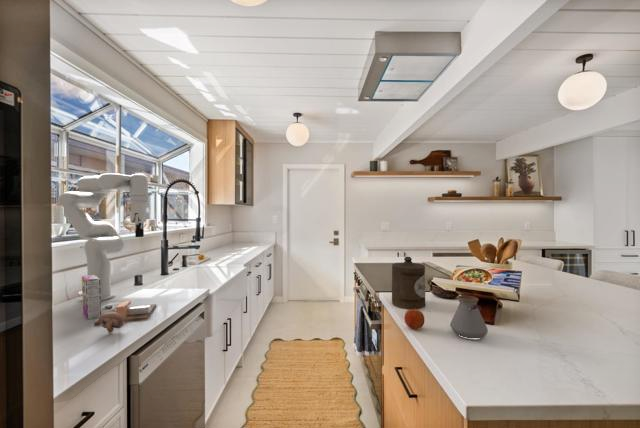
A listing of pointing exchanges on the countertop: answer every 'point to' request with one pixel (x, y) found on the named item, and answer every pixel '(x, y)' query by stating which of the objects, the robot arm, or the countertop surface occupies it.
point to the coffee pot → (468, 318)
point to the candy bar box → (91, 296)
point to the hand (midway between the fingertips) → (139, 236)
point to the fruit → (414, 319)
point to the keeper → (123, 308)
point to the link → (128, 310)
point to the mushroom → (111, 321)
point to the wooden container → (408, 284)
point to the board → (134, 316)
